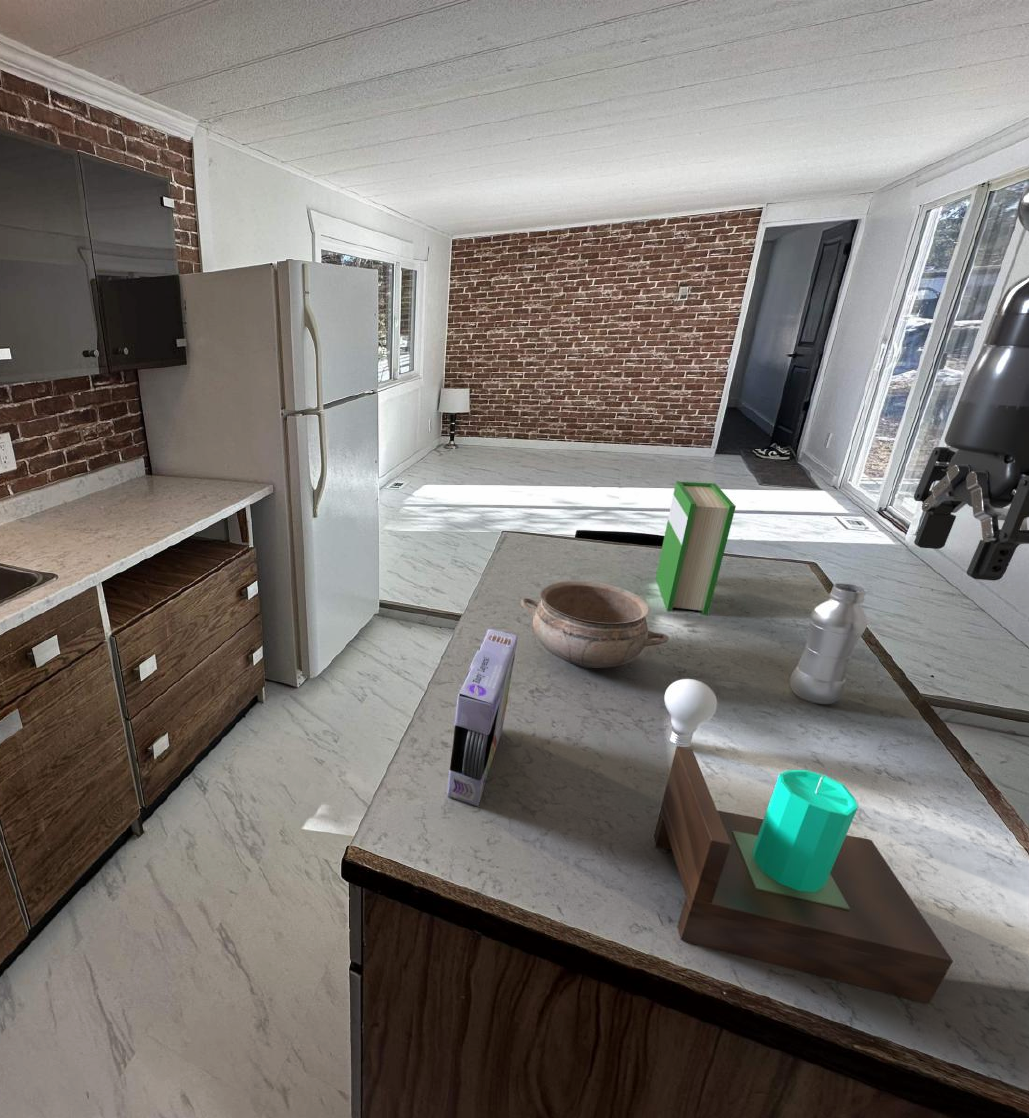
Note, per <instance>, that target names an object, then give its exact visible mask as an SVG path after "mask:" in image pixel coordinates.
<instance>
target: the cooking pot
mask: <svg viewBox="0 0 1029 1118" xmlns="http://www.w3.org/2000/svg"><path fill="white" fill-rule="evenodd" d="M540 598H541V600H540V601H539V602H538V601H536V600H533V599H530V598H522V599H521V601H520V605H521V607H522V608H523V609H524V610H525V611H526V612H527V613H528V614H529V615H531V617H532V626H533V631H534V633H535V634H534V635H535V636H536V638H537V640H538V641H539V643H540V644H541V645H542V646H543V647H544V648H545V649H546V650H547V651H548V652H549V653H551V654H552V655H553V656H555V657H557V658H558V659H561V660H563V661H565V662H567V663H569V664H571V665H573V666H576V667H579V668H583V669H604V668H605V669H606V668H613V667H618V666H622V665H625V664H627V663H629V662H631V661H633V660H634V659H636V658H637V657H638V656H639V655H640V654H641V653H642V652H643V651H644V649H645V648H647V647H651V646H653V647H655V646H660V645H663V644H666V643H668V642H669V640H670V638H669V635H667V634H665V633H661V632H654V631H650V630H649V628H648V622H647V618H646V616H648V614H649V612H650V609H649V605H648V603H647V602H646V601H645V600H644V598H642V597H640V596H638V595H637V594H635V593H633V592H632V591H629V590H627V589H624V588H621V587H618V586H616V585H613V584H608V583H604V582H598V581H590V580H563V581H556V582H553V583H550V584H548V585H546V586H545V587H543V588H542V590H541V591H540ZM529 605H531V606H534V607H531V606H529ZM535 607H536V608H535Z"/></svg>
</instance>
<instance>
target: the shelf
mask: <svg viewBox="0 0 1029 1118" xmlns="http://www.w3.org/2000/svg"><path fill="white" fill-rule="evenodd" d="M763 820H764V818H759V817H755V816H749V815H745V814H740V813H734V812H729V811H723V810H718V809H717V807H716V804H715V801H714V799H713V797H712V794H711V792H710V789H709V787H708V784H707V783H706V780H705V776H704V774H703V772H702V770H701V767H700V765H699V762H698V760H697V757H696V754H695V752H694V750H693V749H692V748H688V747H680V746H676V747H675V751H674V754H673V759H672V763H671V766H670V770H669V775H668V778H667V782H666V786H665V790H664V794H663V798H662V802H661V806H660V810H659V813H658V817H657V820H656V823H655V824H656V825H655V829H654V831H653V832H654V833H653V836H652V837H653V841H654V844H655V847H657V848H662V849H666V850H671V851H672V853H673V857H674V861H675V864H676V868H677V871H678V874H679V877H680V881H681V885H682V887H683V891H684V895H685V899H684V903H683V907H682V910H681V913H680V917H679V920H678V923H677V926H676V927H677V930H678V931H677V932H678V935H679V938H680V940H681V941H683V942H687V943H691V944H695V945H699V946H703V947H705V948H710V949H713V950H714V949H715V950H718V951H721V952H726V953H730V954H733V955H737V956H741V957H745V958H748V959H752V960H757V961H761V962H765V963H768V964H772V965H777V966H780V967H784V968H788V969H791V970H795V971H800V972H803V973H807V974H811V975H815V976H819V977H823V978H826V979H830V980H834V981H838V982H842V983H846V984H849V985H853V986H857V987H862V988H865V989H868V990H873V991H877V992H881V993H884V994H888V995H892V996H897V997H900V998H903V999H909V1000H912V1001H916V1002H920V1003H924V1004H928V1005H929V1004H930V1003H931V1001H932V999H933V998H934V996H935V994H936V992H937V991H938V989H939V987H940V985H941V984H942V982H943V980H944V979H945V976H946V975H947V973H948V971H949V969H950V968H951V966H952V964H953V962H954V961H953V958H952V957H951V956H950V954H949V953H948V952H947V950H946V948H945V947H944V945H943V944H942V942H941V941H940V939H939V938H938V937H937V935H936V933H935V932H934V931H933V929H932V927H931V926H930V924H929V923H928V922H927V920H926V919H925V917H924V916H923V914H922V913H921V911H920V910H919V909H918V907H917V905H916V904H915V902H914V901H913V899H912V898H911V896H910V894H909V893H908V892H907V890H906V889H905V888H904V886H903V884H902V883H901V882H900V880H899V879H898V877H897V876H896V874H895V872H894V871H893V870H892V868H891V867H890V866H889V864H888V862H887V860H886V859H885V858H884V856H883V855H882V853H881V852H880V850H879V849H878V847H877V846H876V844H875V843H874V842H873V840H872V839H869V838H864V837H858V836H854V835H848V834H847V835H846V837H845V839H844V842H843V844H842V846H841V849H840V851H839V853H838V856H837V858H836V860H835V863H834V865H833V868H832V870H831V872H830V875H829V877H828V879H827V882H826V884H825V886H824V887H822V888H821V889H819V890H818V891H816V892H808V891H798V890H795V889H793V888H790V887H787V886H785V885H782V884H780V883H778V882H777V881H775V880H774V879H772V878H771V877H770V876H768V875H767V874H765V873H764V872H763V871H762V870H761V869H760V867H759V866H758V865H757V863H756V862H755V860H754V859H753V848H754V846H755V843H756V840H757V837H758V834H759V831H760V828H761V825H762V823H763Z"/></svg>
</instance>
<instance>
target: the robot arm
mask: <svg viewBox="0 0 1029 1118" xmlns="http://www.w3.org/2000/svg"><path fill="white" fill-rule="evenodd" d="M1017 217H1018V220H1019V223H1020V225H1021V226H1022V227H1023V228H1024V229H1025V230H1026V231H1027V232H1029V184H1028V185H1027V187H1026V188H1025V190H1024V191H1023V193H1022V194H1021V196H1020V199H1019V202H1018V205H1017ZM985 338H986V339H985V341H984V345H983V347H982V349H981V350H980V353H979V354H978V356H977V358H976V360H975V361H974V363H973V365H972V366H971V369H970V371H969V374H968V375H967V379H966V381H965V382H964V386H963V389H962V391H961V394H960V397H959V399H958V402H957V405H956V408H955V409H954V412H953V416H952V418H951V421H950V423H949V425H948V428H947V431H946V433H945V437H944V443H945V444H946V445H947V446H935V447H934V448H933V449H932V451H931V453H930V456H929V458H928V460H927V463H926V465H925V467H924V470H923V472H922V474H921V477H920V480H919V481H918V484H917V487H916V490H915V492H914V494H913V499H914V501H915V502H921V503H922V504H921V511H923V512H924V514H923V518H922V520H921V523H920V525H919V528H918V530H917V533H916V536H915V539H914V541H913V544H914V545H915V546H917V547H919V548H921V549H931V550H932V549H934V550H939V549H940V550H941V549H942V548H944V547H945V545H946V543H947V541H948V538H949V536H950V533H951V531H952V528H953V526H954V523H955V521H956V518H957V515H955V514H956V513H958V512H959V511H960V510H961V509H962V508H964V507H965V506H966V505H968V507H971V508H972V515H973V517H974V518H975V519H976V520H978V521H980V526H981V536H982V539H979V541H978V544H977V546H976V549H975V551H974V553H973V556H972V558H971V560H970V563H969V565H968V568H967V570H966V574H967V576H968V577H970V578H972V579H974V580H981V581H982V580H983V581H994V582H995V581H999V580H1001V579H1002V578H1003V577H1004V575H1005V573H1006V572H1007V570H1008V567H1009V565H1010V563H1011V560H1012V558H1013V556H1014V554H1015V552H1016V549H1017V548H1018V547H1019V546H1020V545H1029V528H1028V522H1027V521H1028V518H1029V274H1028V275H1025V276H1023V277H1021V278H1019V279H1018V280H1015V282H1013V283H1011V285H1010V286H1009V287H1008V289H1007V290H1006V292H1005V293H1004V294H1003V297H1002V298H1001V301H1000V303H999V305H998V308H997V310H996V313H995V314H994V317H993V320H992V322H991V326H990V327H989V331H988V334H987V336H986V337H985ZM934 482H937V483H936V484H935V485H934V486H932V485H933V484H934ZM1008 506H1009V508H1007V507H1008ZM999 521H1003V524H1002V526H1001V529H1000V526H999Z"/></svg>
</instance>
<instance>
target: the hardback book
mask: <svg viewBox="0 0 1029 1118" xmlns="http://www.w3.org/2000/svg"><path fill="white" fill-rule="evenodd" d="M674 484H675V485H674V489H673V494H672V498H671V504H670V508H669V513H668V518H667V523H666V527H665V532H664V536H663V541H662V546H661V551H660V555H659V560H658V564H657V569H656V574H655V581H656V584H657V586H658V588H659V589H658V590H659V593H660V596H661V598H662V600H663V604H664V606H665V609H666V611H667V612H668V611H669V612H672V611H673V609H674V608H676V609H683V610H684V609H685V610H693V611H700V612H701V614H702V615H703V614H704V615H703V616H709V613H710V609H711V605H712V601H713V597H714V592H715V590H716V586H717V581H718V578H719V574H720V570H721V567H722V563H723V562H722V561H723V558H724V554H725V550H726V547H727V542H728V539H729V535H730V532H731V526H732V523H733V520H734V519H733V518H734V516H735V511H736V505H735V504H734V502H733V501H731V498H729V497H728V496H727V495H726V493H725V492H724V491H723V490H722V489H721V487H719V486H718V485H717V483H715V482H695V481H678V480H677V481H675V483H674Z"/></svg>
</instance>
